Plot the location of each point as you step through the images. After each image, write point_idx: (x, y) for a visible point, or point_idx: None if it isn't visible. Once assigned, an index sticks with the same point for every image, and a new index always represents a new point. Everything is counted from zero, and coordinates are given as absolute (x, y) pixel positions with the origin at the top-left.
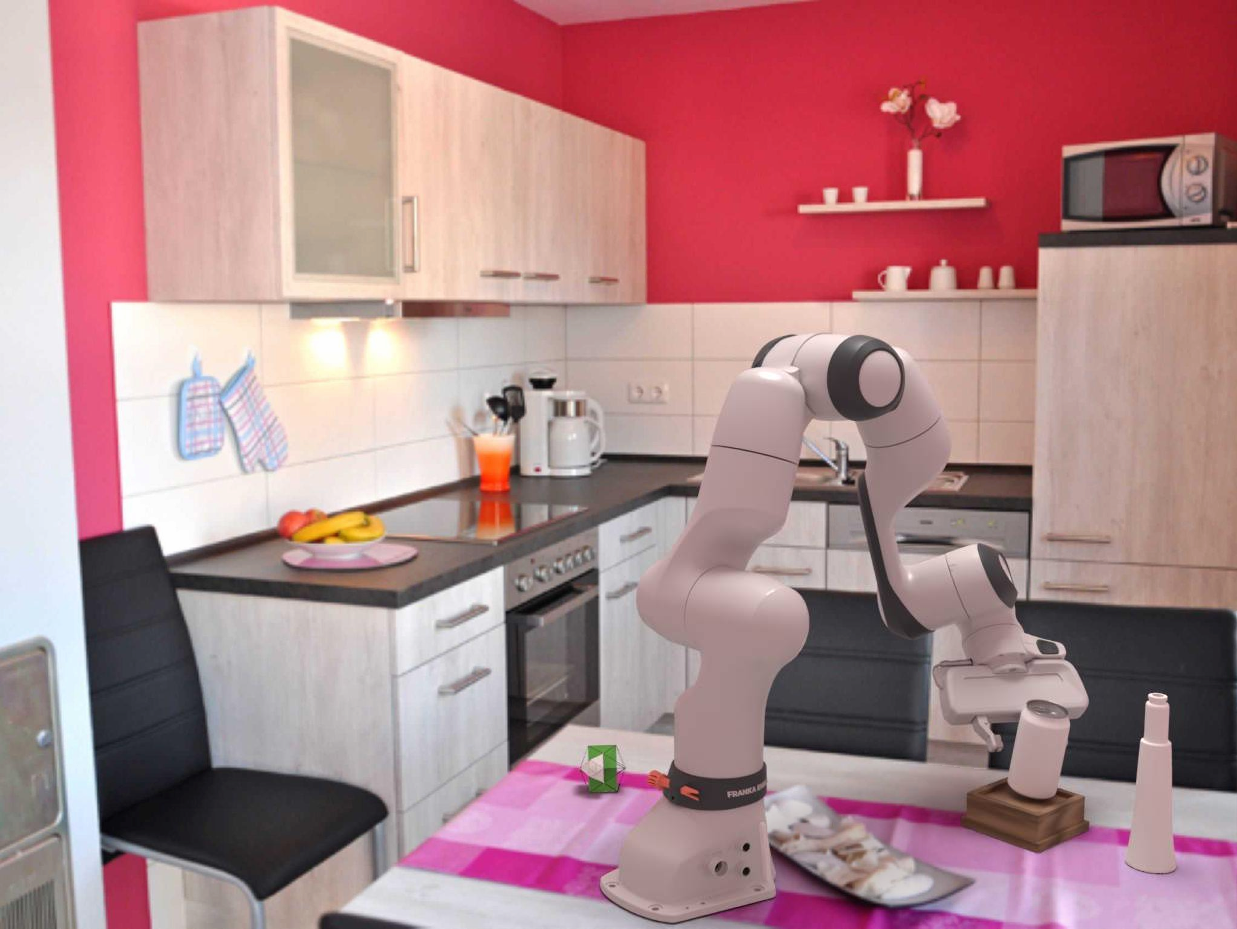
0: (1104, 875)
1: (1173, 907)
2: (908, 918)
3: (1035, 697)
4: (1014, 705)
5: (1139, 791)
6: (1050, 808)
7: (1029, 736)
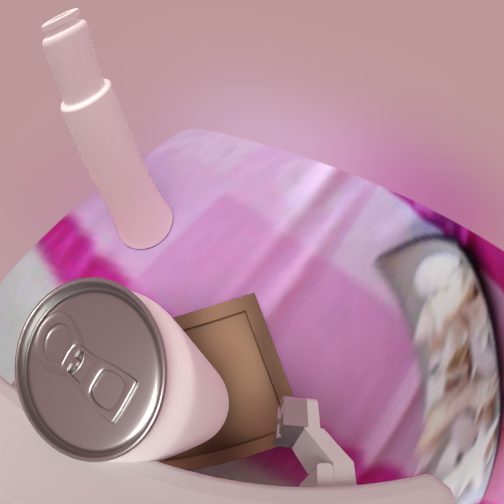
0: (219, 218)
1: (211, 148)
2: (447, 219)
3: (55, 466)
4: (178, 487)
5: (136, 157)
6: (208, 313)
7: (202, 363)
